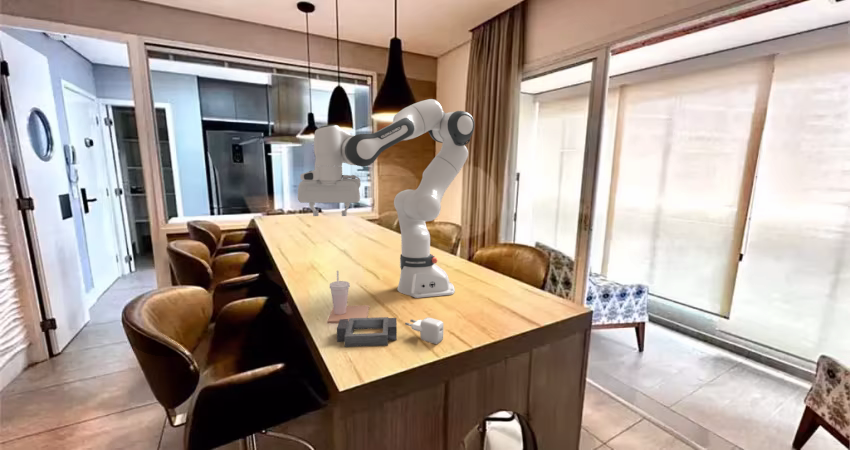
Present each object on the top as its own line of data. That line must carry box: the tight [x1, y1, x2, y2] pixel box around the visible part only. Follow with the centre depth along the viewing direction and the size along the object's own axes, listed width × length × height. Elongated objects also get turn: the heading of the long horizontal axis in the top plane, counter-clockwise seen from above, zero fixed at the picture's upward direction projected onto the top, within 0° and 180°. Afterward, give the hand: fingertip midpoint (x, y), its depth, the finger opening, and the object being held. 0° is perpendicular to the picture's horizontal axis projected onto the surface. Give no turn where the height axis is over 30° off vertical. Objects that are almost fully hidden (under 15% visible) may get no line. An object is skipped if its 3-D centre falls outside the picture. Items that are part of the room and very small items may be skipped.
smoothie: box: [329, 270, 351, 315], centre depth 116 cm, size 6×6×14 cm
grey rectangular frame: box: [336, 316, 398, 348], centre depth 103 cm, size 16×12×4 cm
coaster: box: [326, 304, 370, 325], centre depth 117 cm, size 12×12×1 cm
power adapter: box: [404, 316, 444, 345], centre depth 102 cm, size 11×5×6 cm, turn 57°
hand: (330, 215), depth 122 cm, fingers open, 8 cm apart
